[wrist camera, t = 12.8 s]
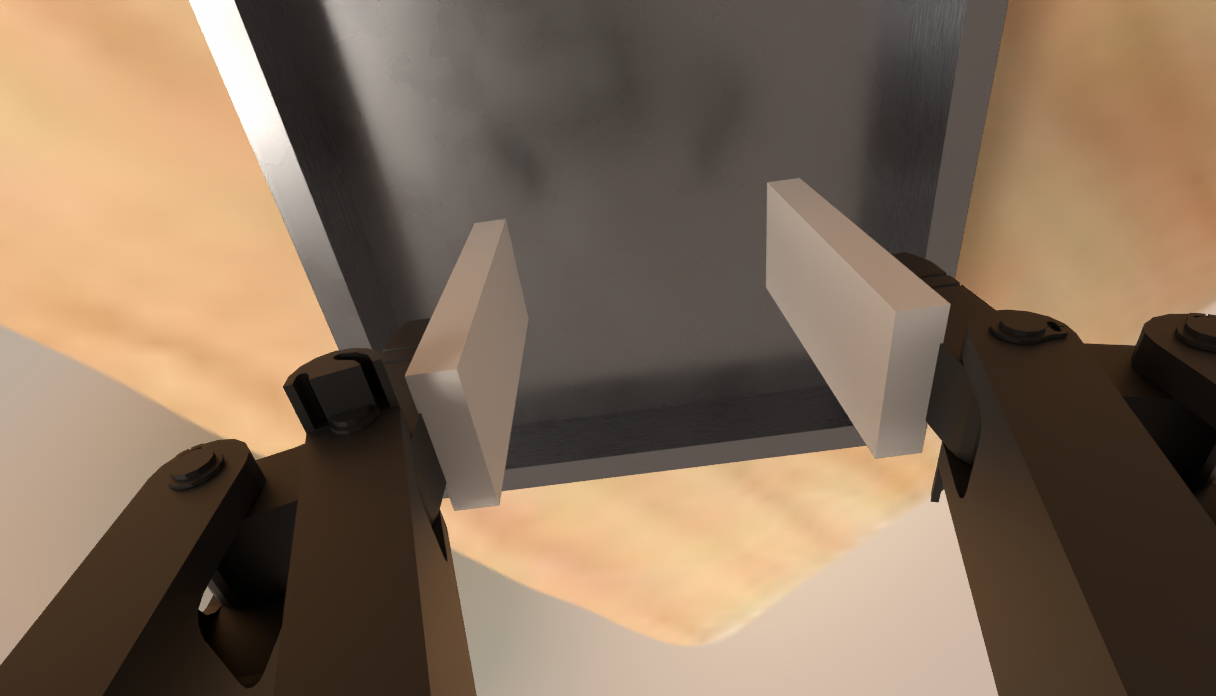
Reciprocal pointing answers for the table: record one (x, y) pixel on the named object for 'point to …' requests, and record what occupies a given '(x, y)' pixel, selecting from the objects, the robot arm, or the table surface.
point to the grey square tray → (611, 188)
